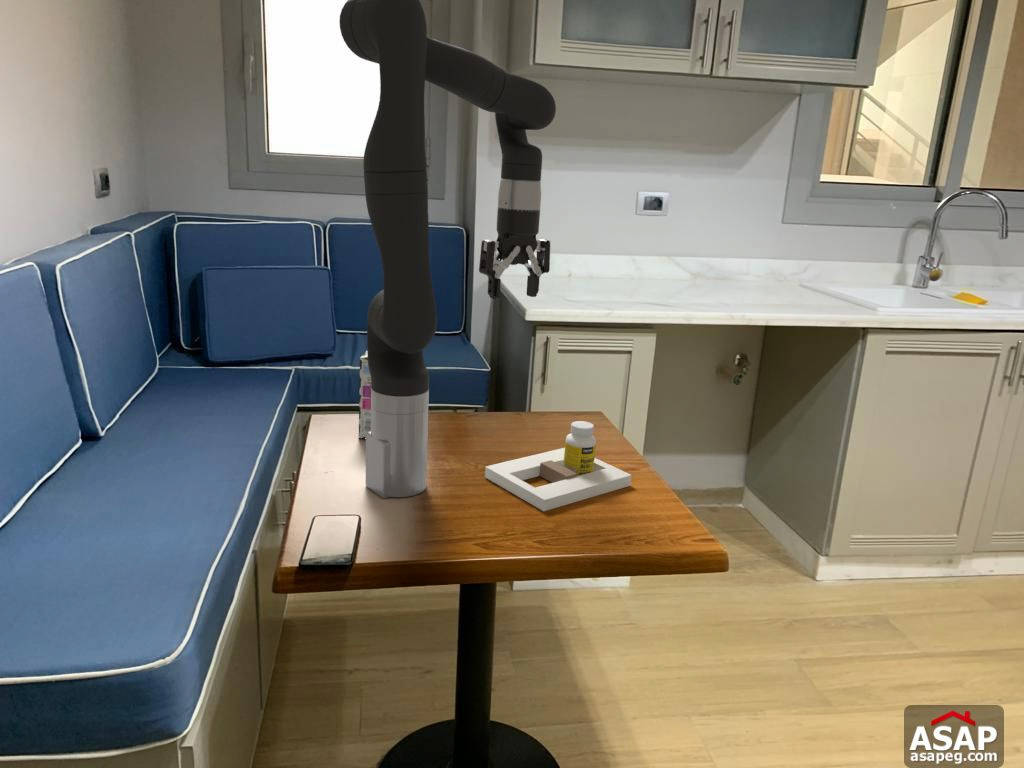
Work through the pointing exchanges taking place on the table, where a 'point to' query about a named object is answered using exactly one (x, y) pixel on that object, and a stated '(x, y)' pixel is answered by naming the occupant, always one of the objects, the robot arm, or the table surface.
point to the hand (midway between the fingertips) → (513, 297)
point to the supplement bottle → (580, 448)
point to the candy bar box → (364, 397)
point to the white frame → (555, 479)
